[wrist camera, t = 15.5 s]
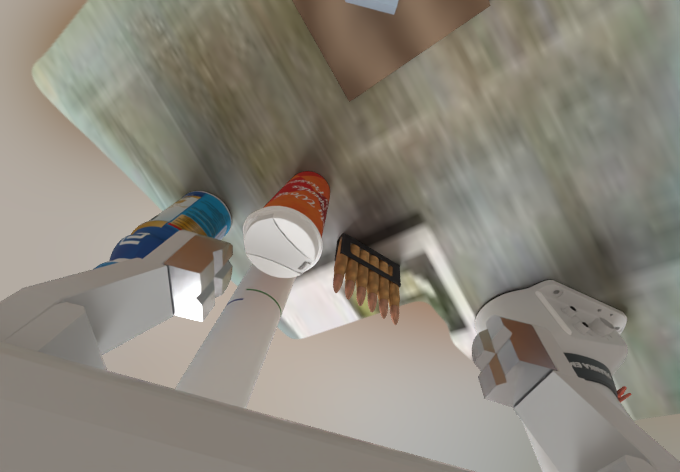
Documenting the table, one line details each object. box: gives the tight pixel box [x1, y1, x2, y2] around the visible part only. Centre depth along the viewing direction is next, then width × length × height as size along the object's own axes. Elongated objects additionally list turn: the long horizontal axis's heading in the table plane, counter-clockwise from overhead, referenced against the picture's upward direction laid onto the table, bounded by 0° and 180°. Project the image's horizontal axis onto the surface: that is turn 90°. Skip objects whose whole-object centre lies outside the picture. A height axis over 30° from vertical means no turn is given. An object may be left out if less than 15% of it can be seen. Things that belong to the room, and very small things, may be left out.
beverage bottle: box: [94, 191, 232, 269], centre depth 37 cm, size 8×8×20 cm
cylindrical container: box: [175, 263, 296, 409], centre depth 38 cm, size 7×7×25 cm
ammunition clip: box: [333, 233, 401, 325], centre depth 41 cm, size 11×2×12 cm, turn 59°
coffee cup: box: [243, 171, 330, 278], centre depth 35 cm, size 8×8×15 cm
